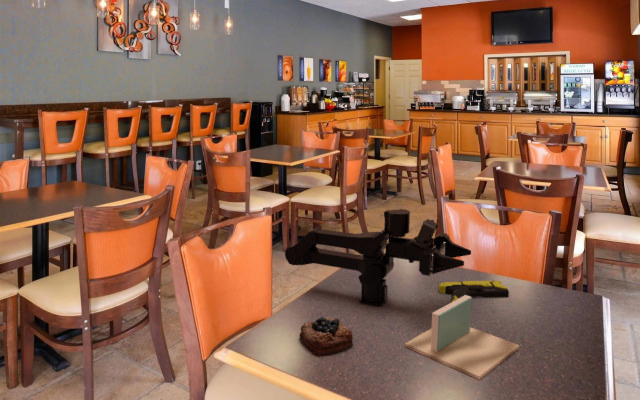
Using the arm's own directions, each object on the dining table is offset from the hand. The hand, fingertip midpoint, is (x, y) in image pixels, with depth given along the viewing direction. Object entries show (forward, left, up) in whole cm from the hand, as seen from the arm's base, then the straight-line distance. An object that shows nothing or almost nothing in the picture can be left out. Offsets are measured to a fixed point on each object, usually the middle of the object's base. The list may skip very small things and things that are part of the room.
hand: (467, 257), depth 128 cm
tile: (0, -15, -16) cm, 22 cm away
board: (+2, -16, -17) cm, 23 cm away
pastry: (-27, -27, -17) cm, 42 cm away
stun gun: (+1, +14, -17) cm, 22 cm away
